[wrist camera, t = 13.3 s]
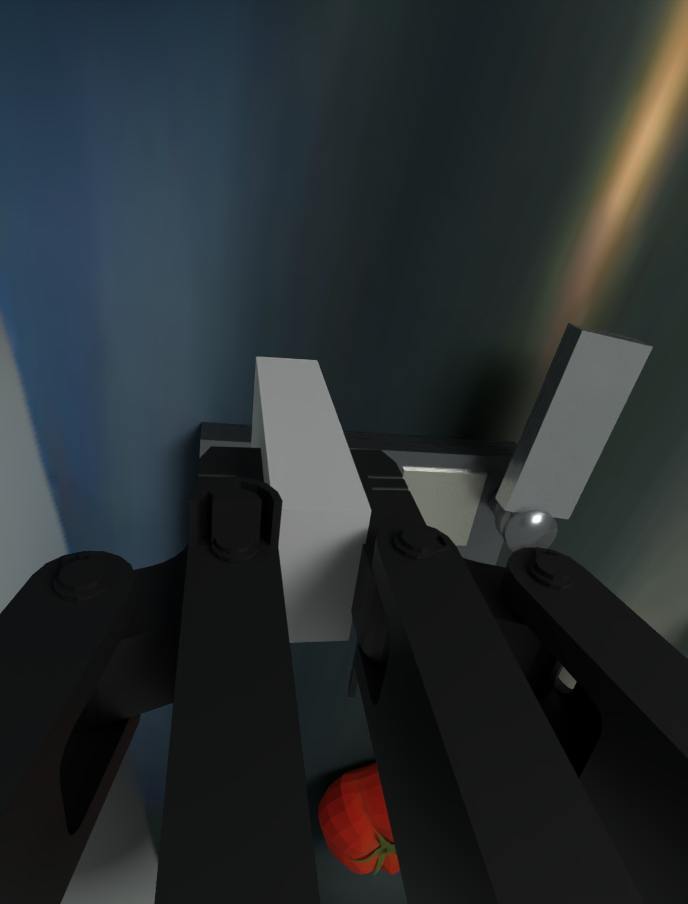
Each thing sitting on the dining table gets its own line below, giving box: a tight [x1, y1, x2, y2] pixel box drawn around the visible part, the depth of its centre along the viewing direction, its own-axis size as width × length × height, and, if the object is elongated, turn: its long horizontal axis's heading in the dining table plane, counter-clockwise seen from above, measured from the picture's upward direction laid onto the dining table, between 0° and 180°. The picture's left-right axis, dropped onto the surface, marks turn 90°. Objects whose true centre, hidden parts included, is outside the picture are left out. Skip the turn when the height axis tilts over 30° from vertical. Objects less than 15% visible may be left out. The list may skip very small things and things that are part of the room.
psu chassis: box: [200, 422, 517, 565], centre depth 48 cm, size 12×26×5 cm, turn 82°
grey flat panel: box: [495, 323, 653, 552], centre depth 43 cm, size 6×18×2 cm, turn 166°
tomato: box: [318, 762, 400, 876], centre depth 65 cm, size 14×13×9 cm
